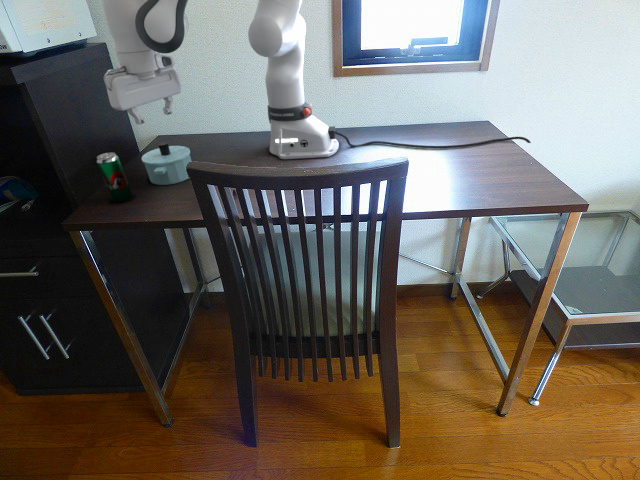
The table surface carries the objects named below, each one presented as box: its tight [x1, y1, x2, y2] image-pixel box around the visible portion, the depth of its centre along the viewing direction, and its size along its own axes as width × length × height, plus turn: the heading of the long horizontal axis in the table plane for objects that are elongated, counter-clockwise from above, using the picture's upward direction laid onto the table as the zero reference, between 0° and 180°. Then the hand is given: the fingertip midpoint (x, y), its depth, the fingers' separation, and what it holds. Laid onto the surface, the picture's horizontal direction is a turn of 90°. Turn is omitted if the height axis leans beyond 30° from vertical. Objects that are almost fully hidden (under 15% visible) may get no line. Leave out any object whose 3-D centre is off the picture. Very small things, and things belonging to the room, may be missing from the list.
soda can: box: [96, 151, 133, 203], centre depth 98 cm, size 5×5×12 cm
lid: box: [141, 141, 191, 165], centre depth 108 cm, size 13×13×4 cm
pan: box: [143, 154, 193, 186], centre depth 111 cm, size 12×18×6 cm
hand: (154, 118), depth 104 cm, fingers open, 8 cm apart
